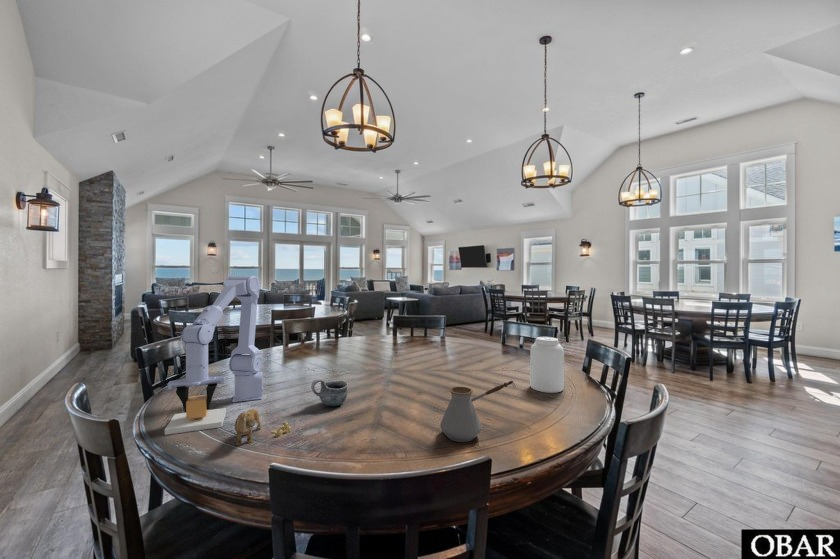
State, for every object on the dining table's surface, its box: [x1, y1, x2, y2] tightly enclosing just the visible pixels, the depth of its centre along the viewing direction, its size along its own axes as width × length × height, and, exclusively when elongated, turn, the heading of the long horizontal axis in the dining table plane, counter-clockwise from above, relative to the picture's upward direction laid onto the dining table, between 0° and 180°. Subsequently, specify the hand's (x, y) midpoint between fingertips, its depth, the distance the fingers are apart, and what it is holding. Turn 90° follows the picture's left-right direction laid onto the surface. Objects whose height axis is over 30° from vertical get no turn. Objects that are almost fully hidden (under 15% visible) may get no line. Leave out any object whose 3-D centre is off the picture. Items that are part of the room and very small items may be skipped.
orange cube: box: [185, 394, 210, 419], centre depth 110 cm, size 5×5×5 cm
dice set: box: [271, 422, 292, 438], centre depth 104 cm, size 5×5×2 cm
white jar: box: [529, 336, 565, 394], centre depth 145 cm, size 12×12×20 cm
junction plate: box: [164, 407, 227, 436], centre depth 110 cm, size 14×12×5 cm
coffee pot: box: [439, 380, 517, 443], centre depth 103 cm, size 21×12×15 cm, turn 97°
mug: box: [310, 377, 349, 407], centre depth 125 cm, size 10×12×10 cm
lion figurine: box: [234, 408, 262, 446], centre depth 101 cm, size 15×5×9 cm, turn 17°
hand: (197, 410), depth 110 cm, fingers closed on orange cube, 5 cm apart
